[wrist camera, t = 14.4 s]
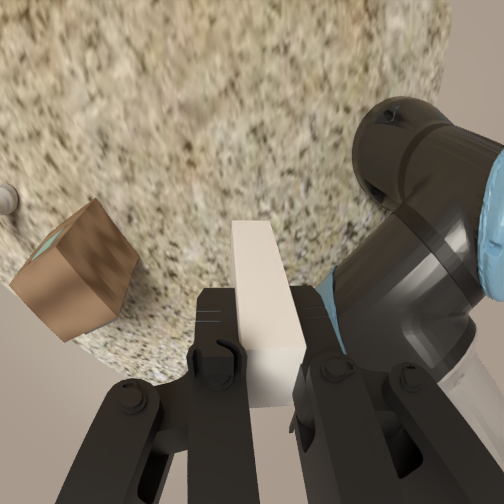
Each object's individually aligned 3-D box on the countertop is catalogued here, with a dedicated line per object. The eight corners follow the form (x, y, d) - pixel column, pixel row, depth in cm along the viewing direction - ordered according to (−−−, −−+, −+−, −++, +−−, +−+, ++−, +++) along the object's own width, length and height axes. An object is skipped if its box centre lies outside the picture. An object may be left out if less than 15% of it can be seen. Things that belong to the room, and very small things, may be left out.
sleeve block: (141, 258, 41) (120, 319, 31) (92, 286, 43) (66, 344, 33) (95, 197, 36) (55, 246, 26) (48, 233, 37) (8, 285, 27)
